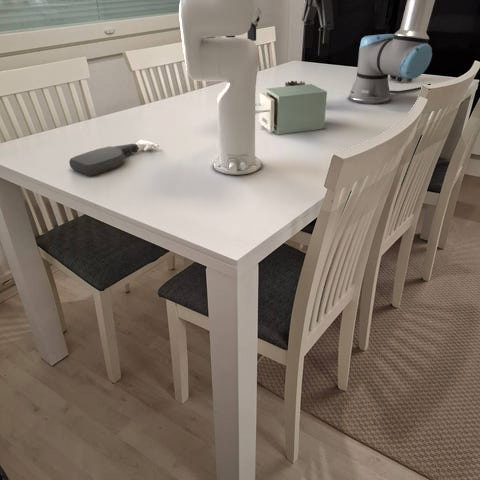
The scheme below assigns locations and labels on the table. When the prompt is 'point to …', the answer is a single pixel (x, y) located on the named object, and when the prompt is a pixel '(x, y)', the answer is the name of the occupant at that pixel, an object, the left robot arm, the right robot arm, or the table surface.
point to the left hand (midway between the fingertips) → (241, 42)
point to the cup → (294, 83)
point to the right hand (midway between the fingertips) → (314, 51)
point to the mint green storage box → (299, 108)
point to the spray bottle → (106, 157)
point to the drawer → (268, 111)
